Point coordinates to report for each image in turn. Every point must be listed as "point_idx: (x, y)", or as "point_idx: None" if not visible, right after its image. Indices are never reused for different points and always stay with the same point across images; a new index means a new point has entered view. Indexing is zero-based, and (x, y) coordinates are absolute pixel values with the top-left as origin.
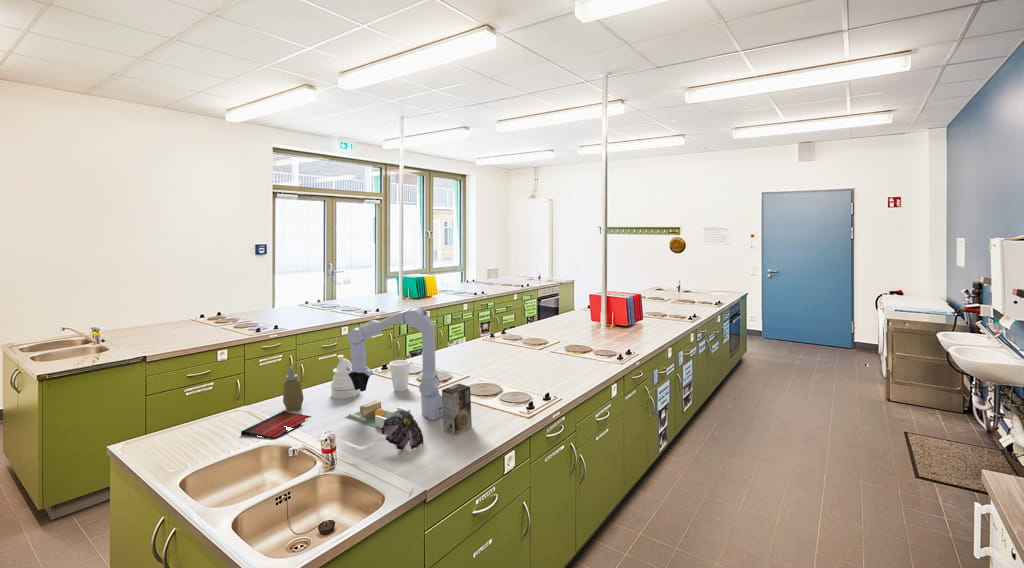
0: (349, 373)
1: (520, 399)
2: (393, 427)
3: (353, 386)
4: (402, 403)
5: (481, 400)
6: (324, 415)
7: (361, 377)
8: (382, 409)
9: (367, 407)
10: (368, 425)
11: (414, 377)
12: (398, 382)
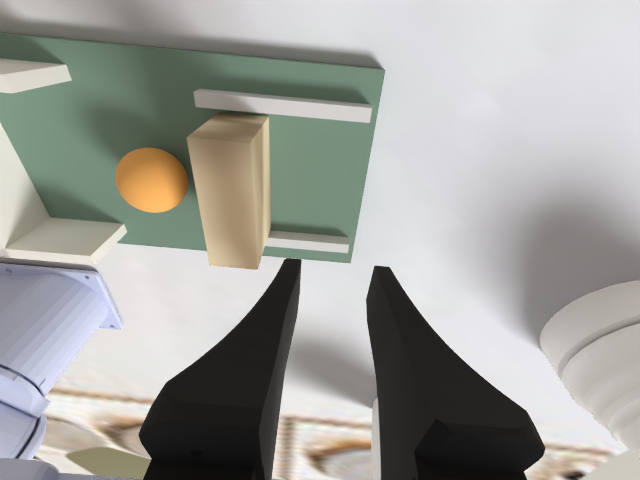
0: (529, 456)
1: None
2: None
3: (582, 363)
4: None
5: (95, 407)
6: (584, 49)
7: (155, 403)
8: (130, 203)
9: (194, 161)
10: (108, 45)
11: None
12: None
